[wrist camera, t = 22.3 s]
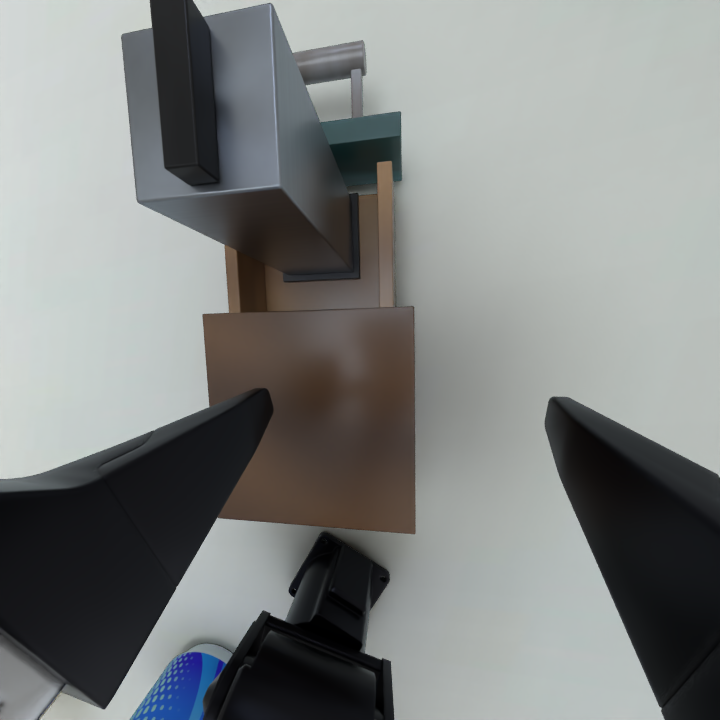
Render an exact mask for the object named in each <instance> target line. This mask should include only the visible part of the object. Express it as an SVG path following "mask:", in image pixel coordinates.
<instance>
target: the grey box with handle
mask: <svg viewBox="0 0 720 720" xmlns="http://www.w3.org/2000/svg"><path fill="white" fill-rule="evenodd" d="M150 8H151V20H152V28H149V29H144V30H139V31H134V32H130V33H125V34H122V36H121V39H122V50H123V60H124V71H125V82H126V92H127V103H128V113H129V124H130V134H131V145H132V155H133V166H134V176H135V187H136V197H137V202H138V203H139V204H142V205H144V206H146V207H148V208H150V209H152V210H154V211H156V212H158V213H160V214H162V215H164V216H166V217H169V218H171V219H173V220H175V221H177V222H179V223H181V224H183V225H185V226H187V227H189V228H191V229H193V230H196V231H198V232H200V233H202V234H204V235H206V236H208V237H210V238H212V239H214V240H216V241H218V242H220V243H223V244H225V245H227V246H229V247H231V248H233V249H235V250H237V251H239V252H241V253H243V254H245V255H247V256H250V257H252V258H254V259H256V260H258V261H260V262H262V263H264V264H266V265H268V266H270V267H272V268H274V269H277V270H279V271H281V272H283V282H285V283H290V282H309V281H328V280H347V279H360V236H359V196H358V193H353V194H349V193H348V190H347V188H346V185H345V183H344V180H343V178H342V176H341V173H340V171H339V168H338V166H337V163H336V161H335V158H334V156H333V153H332V151H331V148H330V146H329V143H328V141H327V138H326V136H325V133H324V131H323V128H322V126H321V123H320V121H319V118H318V116H317V113H316V111H315V108H314V106H313V103H312V101H311V98H310V96H309V93H308V91H307V88H306V86H305V83H304V81H303V78H302V76H301V73H300V71H299V68H298V66H297V64H296V61H295V59H294V56H293V54H292V51H291V49H290V46H289V44H288V41H287V39H286V36H285V34H284V31H283V29H282V26H281V24H280V21H279V19H278V16H277V14H276V11H275V9H274V6H273V5H272V4H271V3H267V4H263V5H258V6H253V7H248V8H244V9H239V10H234V11H229V12H225V13H220V14H215V15H210V16H206V17H203V16H202V14H201V13H200V11H199V10H198V8H197V7H196V5H195V4H194V2H193V0H150Z"/></svg>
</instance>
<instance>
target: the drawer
mask: <svg viewBox="0 0 720 720" xmlns="http://www.w3.org/2000/svg"><path fill="white" fill-rule="evenodd" d="M292 54H293V56H294V59H295V61H296V64H297V66H298V68H299V71H300V73H301V76H302V78H303V81H304V83H305V85H310V84H316V83H323V82H329V81H335V80H341V79H348V78H351V97H352V118H349V119H342V120H335V121H328V122H320V123H321V126H322V128H323V131H324V133H325V136H326V138H327V141H328V143H329V146H330V148H331V151H332V153H333V156H334V158H335V161H336V163H337V166H338V168H339V171H340V173H341V176H342V178H343V180H344V183H345V185H346V186H354V185H363V184H373V183H377V194H371V195H361V196H359V236H360V279H347V280H328V281H309V282H290V283H285V282H283V272H281V271H279V270H277V269H274V268H272V267H270V266H268V265H266V264H264V263H262V262H260V261H258V260H256V259H254V258H252V257H250V256H247V255H245V254H243V253H241V252H239V251H237V250H235V249H233V248H231V247H229V246H227V245H225V259H226V274H227V289H228V303H229V313H245V312H272V311H299V310H327V309H354V308H381V307H396V291H395V205H394V185H393V181H401V180H402V155H401V112H400V111H399V112H392V113H385V114H378V115H371V116H363V80H362V76H365V75H366V52H365V44H364V41H363V40H361V41H356V42H350V43H345V44H339V45H334V46H328V47H323V48H317V49H311V50H306V51H300V52H295V53H292Z"/></svg>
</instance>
